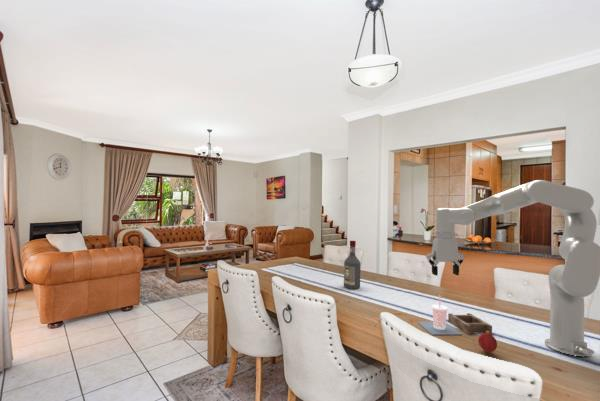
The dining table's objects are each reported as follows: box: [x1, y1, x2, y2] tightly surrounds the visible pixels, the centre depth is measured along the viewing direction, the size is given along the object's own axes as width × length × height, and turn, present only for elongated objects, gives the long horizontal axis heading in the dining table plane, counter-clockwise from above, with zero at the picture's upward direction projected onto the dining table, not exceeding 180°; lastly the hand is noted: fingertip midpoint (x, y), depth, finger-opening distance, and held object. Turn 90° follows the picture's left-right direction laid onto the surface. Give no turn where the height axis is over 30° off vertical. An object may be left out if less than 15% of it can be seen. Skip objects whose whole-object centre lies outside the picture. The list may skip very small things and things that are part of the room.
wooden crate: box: [447, 312, 493, 335], centre depth 128 cm, size 14×11×4 cm
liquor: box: [343, 240, 361, 290], centre depth 188 cm, size 9×9×30 cm
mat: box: [416, 321, 463, 336], centre depth 126 cm, size 13×13×1 cm
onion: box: [477, 331, 498, 354], centre depth 106 cm, size 6×6×8 cm
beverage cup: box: [431, 294, 448, 330], centre depth 126 cm, size 6×6×14 cm
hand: (445, 274), depth 128 cm, fingers open, 9 cm apart
